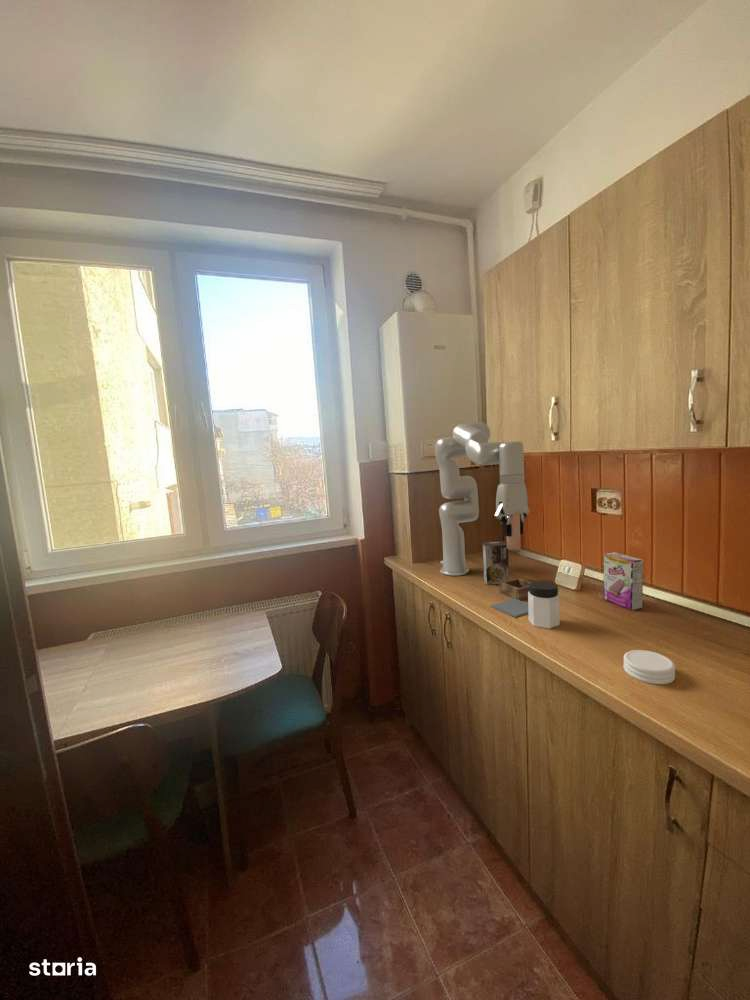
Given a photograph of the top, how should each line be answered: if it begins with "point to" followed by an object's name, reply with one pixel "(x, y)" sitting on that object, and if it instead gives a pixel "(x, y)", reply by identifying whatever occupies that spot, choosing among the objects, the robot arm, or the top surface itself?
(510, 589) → the brown square box
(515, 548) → the peg
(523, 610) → the mat
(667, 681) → the coaster
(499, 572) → the coffee box
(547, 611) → the jar
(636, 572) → the candy bar box
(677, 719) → the top surface
